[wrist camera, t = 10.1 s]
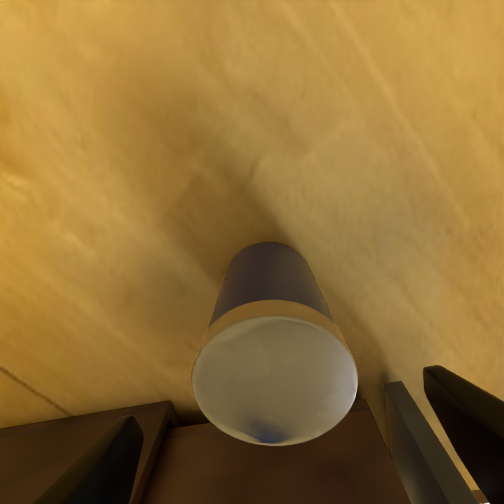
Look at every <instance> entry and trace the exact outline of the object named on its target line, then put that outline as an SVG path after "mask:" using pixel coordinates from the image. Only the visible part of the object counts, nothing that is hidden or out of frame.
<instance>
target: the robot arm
mask: <svg viewBox="0 0 504 504" xmlns="http://www.w3.org/2000/svg"><path fill="white" fill-rule="evenodd" d="M423 382H424V391H425V394H426V397H427V399H428V401H429V403H430V404H431V406H432V408H433V410H434V412H435V414H436V416H437V417H438V419H439V421H440V423H441V425H442V427H443V428H444V430H445V432H446V434H447V436H448V438H449V440H450V441H451V443H452V445H453V447H454V449H455V451H456V452H457V454H458V456H459V457H460V459H461V461H462V462H463V464H464V465H465V467H466V469H467V470H468V472H469V473H470V475H471V476H472V478H473V479H474V481H475V482H476V484H477V485H478V487H479V488H480V490H481V491H482V493H483V494H484V496H485V497H486V499H487V500H488V502H489V503H490V504H504V401H502V400H500V399H499V398H497V397H495V396H493V395H492V394H490V393H488V392H486V391H484V390H483V389H481V388H479V387H477V386H476V385H474V384H472V383H470V382H469V381H467V380H465V379H463V378H461V377H460V376H458V375H456V374H454V373H453V372H451V371H449V370H447V369H446V368H444V367H442V366H439V365H434V366H428V367H424V369H423ZM143 442H144V433H143V430H142V428H141V426H140V424H139V422H138V421H137V419H136V417H135V416H134V415H128V416H123V417H120V418H119V419H118V420H117V421H116V422H115V423H114V424H113V425H112V426H111V427H110V428H109V429H108V430H107V431H106V432H105V433H104V434H103V435H102V436H100V437H99V438H98V439H97V440H96V441H95V442H94V443H93V444H92V445H91V446H90V447H89V448H88V449H87V450H86V451H85V452H84V453H83V454H82V455H81V456H80V457H79V458H78V459H77V460H76V461H75V462H74V463H73V464H72V465H71V466H70V467H69V468H68V469H67V470H66V471H64V472H63V473H62V474H61V475H60V476H59V477H58V478H57V479H56V480H55V481H54V482H53V483H52V484H51V485H50V486H49V487H48V488H47V489H46V490H45V491H44V492H43V493H42V494H41V495H40V496H39V497H38V498H37V499H36V500H35V501H34V502H33V503H32V504H129V502H130V498H131V494H132V490H133V486H134V482H135V477H136V473H137V469H138V464H139V460H140V455H141V451H142V446H143Z"/></svg>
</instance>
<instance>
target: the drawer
mask: <svg viewBox="0 0 504 504" xmlns="http://www.w3.org/2000/svg"><path fill="white" fill-rule="evenodd" d="M383 386H384V395H385V403H386V412H387V420H388V429H389V437H390V446H391V454H392V458H391V456H390V454H389V451H388V449H387V447H386V445H385V442H384V440H383V438H382V435H381V433H380V431H379V429H378V426H377V424H376V422H375V419H374V417H373V415H372V413H371V410H370V408H369V406H368V403H367V401H366V399H360V400H354V402H353V404H352V406H351V408H350V410H349V411H348V413H347V414H346V415H345V416H344V418H343V419H342V420H341V421H340V422H339V423H338V424H337V425H335V426H334V427H333V428H332V429H330V430H329V431H327V432H326V433H324V434H322V435H320V436H318V437H316V438H314V439H311V440H308V441H305V442H302V443H297V444H292V445H284V446H267V445H259V444H253V443H249V442H246V441H242V440H240V439H237V438H235V437H232V436H230V435H229V434H227V433H225V432H223V431H222V430H220V429H219V428H217V427H216V426H215V425H214V424H213V423H205V424H199V425H192V426H186V427H179V428H173V429H166V431H165V433H164V436H163V439H162V442H161V445H160V447H159V450H158V453H157V456H156V459H155V462H154V464H153V467H152V470H151V473H150V476H149V478H148V481H147V484H146V487H145V490H144V492H143V495H142V498H141V501H140V504H490V503H489V502H488V500H487V499H486V497H485V496H484V494H483V493H482V491H481V490H473V491H471V490H470V488H469V487H468V485H467V483H466V482H465V480H464V479H463V477H462V476H461V474H460V472H459V471H458V469H457V468H456V466H455V465H454V463H453V461H452V460H451V458H450V457H449V455H448V453H447V452H446V450H445V449H444V447H443V446H442V444H441V442H440V441H439V439H438V438H437V436H436V435H435V433H434V431H433V430H432V428H431V427H430V425H429V424H428V422H427V420H426V419H425V417H424V416H423V414H422V413H421V411H420V409H419V408H418V406H417V405H416V403H415V401H414V400H413V398H412V397H411V395H410V394H409V392H408V390H407V389H406V387H405V386H404V384H403V383H402V381H397V382H391V383H385V384H383Z"/></svg>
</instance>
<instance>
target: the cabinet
mask: <svg viewBox="0 0 504 504" xmlns="http://www.w3.org/2000/svg"><path fill="white" fill-rule="evenodd" d="M128 415H134V416H135V417H136V419H137V421H138V422H139V424H140V426H141V428H142V430H143V433H144V442H143V446H142V451H141V455H140V460H139V464H138V469H137V473H136V477H135V482H134V486H133V490H132V494H131V498H130V502H129V504H140V501H141V498H142V495H143V492H144V490H145V487H146V484H147V481H148V478H149V476H150V473H151V470H152V467H153V464H154V462H155V459H156V456H157V453H158V450H159V447H160V445H161V442H162V439H163V436H164V433H165V431H166V429H173V428H179V427H182V426H181V424H180V422H179V420H178V417H177V415H176V413H175V411H174V408H173V406H172V404H171V402H170V401H166V402H160V403H154V404H148V405H142V406H136V407H130V408H124V409H118V410H112V411H106V412H100V413H94V414H88V415H82V416H76V417H70V418H64V419H58V420H52V421H46V422H40V423H34V424H28V425H22V426H16V427H10V428H4V429H0V504H32V503H33V502H34V501H35V500H36V499H37V498H38V497H39V496H40V495H41V494H42V493H43V492H44V491H45V490H46V489H47V488H48V487H49V486H50V485H51V484H52V483H53V482H54V481H55V480H56V479H57V478H58V477H59V476H60V475H61V474H62V473H63V472H64V471H66V470H67V469H68V468H69V467H70V466H71V465H72V464H73V463H74V462H75V461H76V460H77V459H78V458H79V457H80V456H81V455H82V454H83V453H84V452H85V451H86V450H87V449H88V448H89V447H90V446H91V445H92V444H93V443H94V442H95V441H96V440H97V439H98V438H99V437H100V436H102V435H103V434H104V433H105V432H106V431H107V430H108V429H109V428H110V427H111V426H112V425H113V424H114V423H115V422H116V421H117V420H118V419H119V418H120V417H123V416H128Z"/></svg>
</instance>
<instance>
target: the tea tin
mask: <svg viewBox="0 0 504 504" xmlns="http://www.w3.org/2000/svg"><path fill="white" fill-rule="evenodd" d="M191 383H192V389H193V394H194V397H195V400H196V402H197V404H198V406H199V408H200V409H201V411H202V412H203V414H204V415H205V416H206V417H207V418H208V420H209V421H210V422H212V423H213V424H214V425H215V426H216V427H217V428H219V429H220V430H222V431H223V432H225V433H227V434H229V435H230V436H232V437H235V438H237V439H240V440H242V441H246V442H249V443H253V444H259V445H267V446H284V445H292V444H297V443H302V442H305V441H308V440H311V439H314V438H316V437H318V436H320V435H322V434H324V433H326V432H327V431H329V430H330V429H332V428H333V427H334V426H335V425H337V424H338V423H339V422H340V421H341V420H342V419H343V418H344V416H345V415H346V414H347V413H348V411H349V410H350V408H351V406H352V404H353V402H354V400H355V397H356V393H357V387H358V371H357V367H356V363H355V361H354V358H353V356H352V354H351V351H350V349H349V347H348V345H347V343H346V341H345V338H344V337H343V335H342V334H341V332H340V330H339V329H338V328H337V327H336V326H335V323H334V321H333V319H332V317H331V314H330V312H329V310H328V308H327V305H326V303H325V301H324V299H323V297H322V294H321V292H320V290H319V288H318V285H317V283H316V281H315V279H314V276H313V274H312V272H311V270H310V268H309V265H308V264H307V262H306V260H305V259H304V258H303V257H302V256H301V255H300V254H299V253H298V252H297V251H295V250H294V249H292V248H290V247H289V246H286V245H283V244H280V243H274V242H263V243H257V244H254V245H251V246H249V247H247V248H245V249H243V250H242V251H240V252H239V253H238V254H237V255H236V256H235V257H234V258H233V259H232V261H231V262H230V264H229V266H228V268H227V271H226V273H225V277H224V280H223V283H222V286H221V289H220V292H219V295H218V299H217V302H216V305H215V308H214V311H213V314H212V317H211V320H210V324H209V327H208V330H207V332H206V333H205V335H204V337H203V339H202V341H201V343H200V346H199V349H198V352H197V355H196V358H195V361H194V364H193V368H192V376H191Z"/></svg>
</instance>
